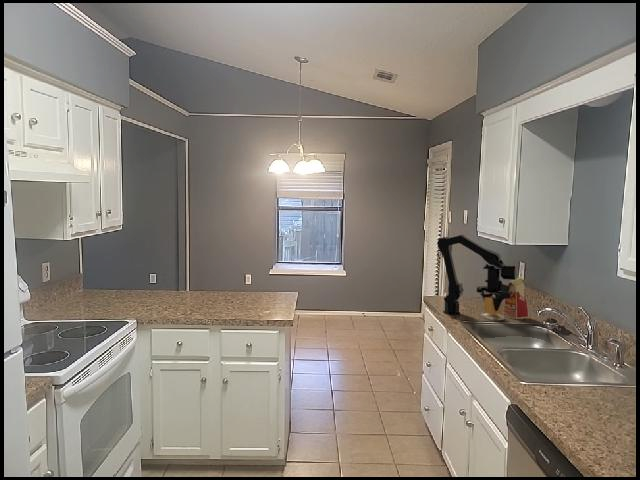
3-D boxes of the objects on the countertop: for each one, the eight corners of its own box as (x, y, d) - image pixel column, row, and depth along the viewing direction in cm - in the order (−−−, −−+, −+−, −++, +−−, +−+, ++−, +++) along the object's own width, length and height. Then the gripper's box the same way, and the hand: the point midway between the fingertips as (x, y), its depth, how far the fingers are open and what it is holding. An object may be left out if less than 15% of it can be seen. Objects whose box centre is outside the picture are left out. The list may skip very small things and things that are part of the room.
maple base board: (492, 320, 229) (492, 318, 229) (480, 316, 237) (480, 313, 237) (504, 319, 231) (504, 317, 231) (492, 315, 240) (492, 312, 239)
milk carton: (516, 313, 242) (517, 275, 240) (529, 318, 233) (530, 278, 231) (501, 315, 239) (502, 276, 237) (514, 319, 230) (515, 279, 228)
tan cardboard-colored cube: (491, 314, 231) (491, 299, 230) (484, 312, 236) (484, 297, 235) (501, 313, 232) (501, 298, 232) (493, 311, 238) (494, 296, 237)
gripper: (520, 280, 226) (519, 312, 227) (494, 274, 244) (494, 304, 245) (500, 281, 223) (499, 314, 224) (476, 275, 240) (475, 305, 242)
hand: (492, 309), depth 234 cm, fingers closed on tan cardboard-colored cube, 6 cm apart
